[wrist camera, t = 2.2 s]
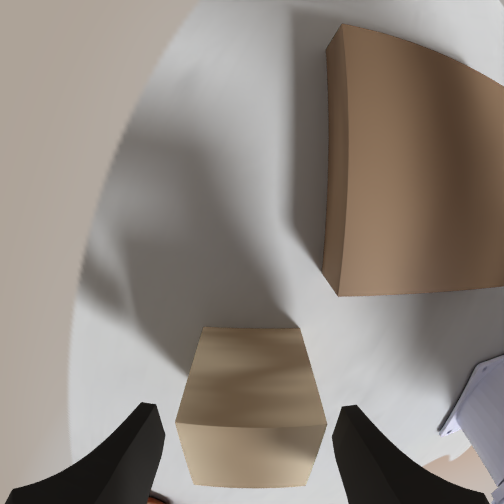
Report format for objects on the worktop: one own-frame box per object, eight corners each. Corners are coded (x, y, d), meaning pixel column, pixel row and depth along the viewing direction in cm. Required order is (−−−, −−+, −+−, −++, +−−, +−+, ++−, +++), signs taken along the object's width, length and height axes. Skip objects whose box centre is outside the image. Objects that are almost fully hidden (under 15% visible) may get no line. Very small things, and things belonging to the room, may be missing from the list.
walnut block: (481, 100, 10) (514, 93, 7) (474, 268, 12) (506, 285, 10) (323, 53, 10) (341, 23, 7) (319, 269, 12) (337, 296, 10)
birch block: (299, 327, 13) (327, 424, 7) (291, 395, 14) (305, 485, 8) (203, 326, 13) (175, 422, 7) (209, 394, 14) (193, 484, 8)
